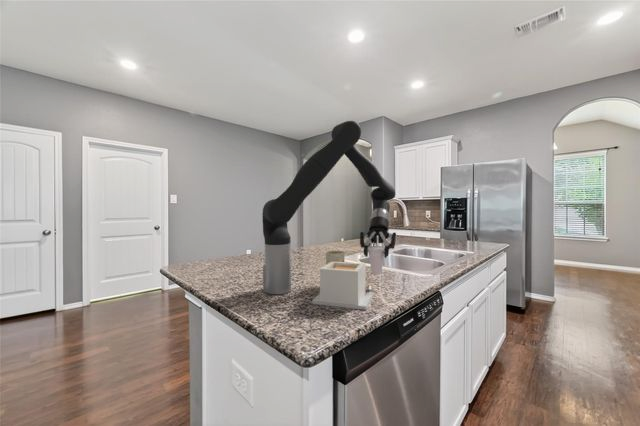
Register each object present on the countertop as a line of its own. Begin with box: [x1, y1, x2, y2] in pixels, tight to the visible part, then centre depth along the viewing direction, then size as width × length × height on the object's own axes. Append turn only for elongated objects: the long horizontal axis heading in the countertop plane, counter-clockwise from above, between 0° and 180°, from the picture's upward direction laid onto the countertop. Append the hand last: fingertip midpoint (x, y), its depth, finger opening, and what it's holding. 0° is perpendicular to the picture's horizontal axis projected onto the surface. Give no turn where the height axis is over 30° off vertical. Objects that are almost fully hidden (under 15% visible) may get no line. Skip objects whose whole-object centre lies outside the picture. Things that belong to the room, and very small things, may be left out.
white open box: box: [311, 261, 374, 311], centre depth 89 cm, size 17×13×11 cm
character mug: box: [325, 250, 345, 265], centre depth 104 cm, size 11×7×13 cm, turn 13°
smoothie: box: [368, 236, 385, 275], centre depth 102 cm, size 6×6×14 cm
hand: (375, 255), depth 100 cm, fingers closed on smoothie, 6 cm apart
